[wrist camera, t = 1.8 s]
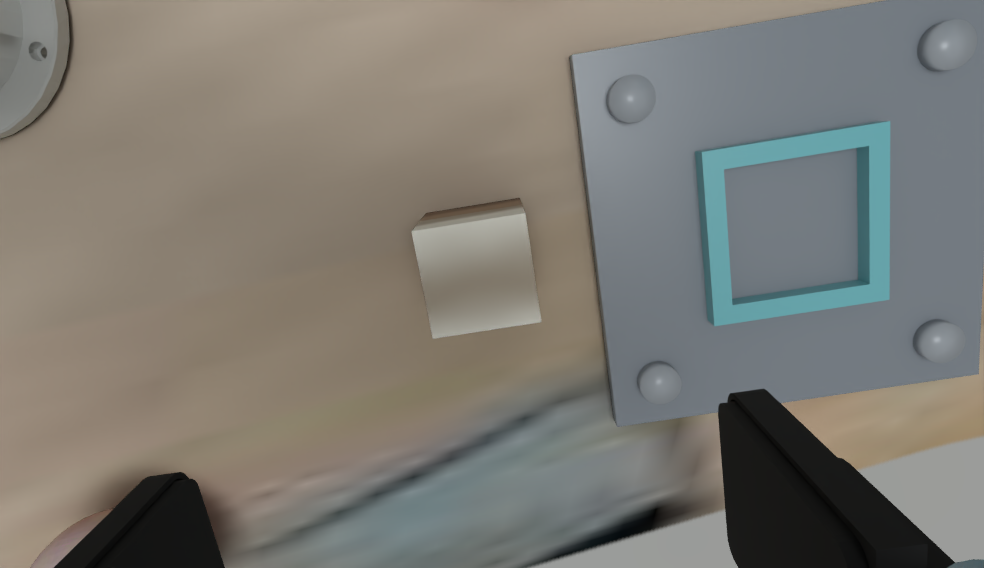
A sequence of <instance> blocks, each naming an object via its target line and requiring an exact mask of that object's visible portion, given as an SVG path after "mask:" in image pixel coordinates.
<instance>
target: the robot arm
mask: <svg viewBox="0 0 984 568" xmlns="http://www.w3.org/2000/svg"><path fill="white" fill-rule="evenodd" d="M69 43H70V38H69V18H68V11H67V7H66V3H65V0H0V139H1V138H4V137H7V136H10V135H13V134H14V133H16V132H18V131H19V130H21V129H22V128H24V127H26V126H27V125H29V124H30V123H32V122H33V121H34V120H35V119H36V118H37V117H38V116H39V115H40V114H41V113H42V112H43V111H44V110H45V109H46V108H47V106H48V104H49V103H50V101H51V100H52V98H53V96H54V95H55V93H56V91H57V90H58V88H59V85H60V83H61V80H62V77H63V74H64V71H65V68H66V65H67V57H68V50H69ZM718 417H719V430H720V443H721V457H722V470H723V483H724V496H725V510H726V523H727V536H728V542H729V547H730V550H731V553H732V555H733V558H734V560H735V562H736V564H737V566H738V568H984V560H974V559H973V560H968V561H963V562H957V563H955V562H954V561H953V560H952V559H951V558H950V557H948V556H947V555H946V554H945V553H944V552H943V551H942V550H941V549H940V548H939V547H938V546H937V545H936V544H935V543H933V541H931V540H930V539H929V538H928V537H927V536H926V535H925V534H924V533H923V532H922V531H921V530H920V529H919V528H918V527H917V526H916V525H914V524H913V523H912V522H911V521H910V520H909V519H908V518H907V517H906V516H905V515H904V514H903V513H902V512H901V511H900V510H898V509H897V508H896V507H895V506H894V505H893V504H892V503H891V502H890V501H889V500H888V499H887V498H885V496H884V495H882V494H881V493H880V492H879V491H878V490H877V489H876V488H875V487H874V486H873V485H872V484H871V483H869V481H867V480H866V479H865V478H864V477H863V476H862V475H861V474H860V473H859V472H858V471H857V470H856V469H855V468H854V467H853V466H852V465H851V464H849V463H848V462H847V461H845V460H844V459H842V458H837V457H836V456H835V455H834V454H833V453H832V452H831V451H830V450H829V449H828V448H827V447H826V446H825V445H824V444H823V443H821V442H820V441H819V440H818V439H817V438H816V437H815V436H814V435H813V434H812V433H811V432H810V431H809V430H808V429H807V428H806V427H805V426H804V425H803V424H802V423H801V422H799V421H798V420H797V419H796V418H795V417H794V416H793V415H792V414H791V413H790V412H789V411H788V410H787V409H786V408H785V407H784V406H783V405H782V404H781V403H780V402H779V401H777V400H776V399H775V398H774V397H773V396H772V395H771V394H770V393H769V392H768V391H767V390H765V389H757V390H750V391H743V392H736V393H730V394H729V396H728V400H727V402H726V403H720V404H719V407H718ZM54 568H225V567H224V564H223V561H222V558H221V555H220V551H219V548H218V545H217V542H216V539H215V536H214V533H213V530H212V526H211V523H210V520H209V517H208V514H207V511H206V508H205V505H204V502H203V498H202V495H201V492H200V489H199V486H198V484H197V482H196V481H195V480H193V479H189V478H188V477H187V476H186V475H185V474H184V473H182V472H178V473H171V474H164V475H157V476H150V477H147V478H145V479H144V480H143V481H142V482H141V483H140V484H139V485H138V486H136V487H135V488H134V489H133V490H132V491H131V492H130V493H129V494H128V495H127V496H126V497H125V498H124V499H123V500H122V501H121V502H120V503H119V504H118V505H117V506H116V507H115V508H114V509H113V510H112V511H111V512H110V513H109V514H108V515H107V516H106V517H105V518H104V519H103V520H102V521H101V522H100V523H99V524H98V525H97V526H96V527H94V528H93V529H92V530H91V531H90V532H89V533H88V534H87V535H86V536H85V537H84V538H83V539H82V540H81V541H80V542H79V543H78V544H77V545H76V546H75V547H74V548H73V549H72V550H71V551H70V552H69V553H68V554H67V555H66V556H65V557H64V558H63V559H62V560H61V561H60V562H59V563H58V564H57V565H56V566H55V567H54Z"/></svg>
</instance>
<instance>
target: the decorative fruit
mask: <svg viewBox="0 0 984 568" xmlns="http://www.w3.org/2000/svg"><path fill="white" fill-rule="evenodd" d="M112 510H113V509H110V510H105V511H102V512H99V513H96V514H93V515H91V516H89V517H86V518H84V519H82V520H80V521H78V522H77V523H75V524H73V525H72V526H70V527H69V528H67V529H66V530H65V531H63V532H62V533H61V534H60V535H58V536H57V537H56V538H55V539H54V540H53V541H52V542H51V543H50V544H49V545H48V546H47V547H46V548H45V549H44V550H43V551H42V553H41V554H40V555H39V556H38V557H37V559H36V560H35V561H34V563H33V564H32V565H31V567H30V568H54V567H55V566H56V565H57V564H58V563H59V562H60V561H61V560H62V559H63V558H64V557H65V556H66V555H67V554H68V553H69V552H70V551H71V550H72V549H73V548H74V547H75V546H76V545H77V544H78V543H79V542H80V541H81V540H82V539H83V538H84V537H85V536H86V535H87V534H88V533H89V532H90V531H91V530H92V529H93V528H94V527H96V526H97V525H98V524H99V523H100V522H101V521H102V520H103V519H104V518H105V517H106V516H107V515H108V514H109V513H110V512H111V511H112Z"/></svg>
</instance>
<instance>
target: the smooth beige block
mask: <svg viewBox="0 0 984 568" xmlns="http://www.w3.org/2000/svg"><path fill="white" fill-rule="evenodd" d="M411 232H412V237H413V242H414V247H415V252H416V257H417V262H418V267H419V272H420V277H421V282H422V287H423V292H424V297H425V302H426V307H427V312H428V317H429V322H430V327H431V333H432V338H433V339H435V338H441V337H448V336H454V335H461V334H467V333H474V332H480V331H487V330H493V329H500V328H506V327H513V326H519V325H526V324H532V323H539V322H541V315H540V309H539V302H538V295H537V288H536V282H535V275H534V268H533V261H532V255H531V248H530V241H529V235H528V228H527V221H526V214H525V211H524V208H523V206H522V203H521V201H520V198H516V199H510V200H504V201H498V202H492V203H486V204H480V205H473V206H467V207H461V208H455V209H449V210H443V211H436V212H430V213H426V214H425V216H424V217H423V218H422V219H421V220H420V222H419V223H418V224H417V225H416V227H415V228H414V229H413V230H412V231H411Z"/></svg>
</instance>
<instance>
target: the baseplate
mask: <svg viewBox="0 0 984 568" xmlns="http://www.w3.org/2000/svg"><path fill="white" fill-rule="evenodd" d="M569 59H570V67H571V75H572V83H573V91H574V99H575V108H576V116H577V124H578V132H579V140H580V148H581V157H582V165H583V173H584V181H585V189H586V197H587V206H588V214H589V222H590V230H591V238H592V246H593V254H594V263H595V271H596V279H597V287H598V295H599V303H600V312H601V320H602V328H603V336H604V344H605V352H606V360H607V369H608V377H609V385H610V393H611V401H612V409H613V418H614V421H615V423H616V425H617V427H620V426H626V425H633V424H640V423H647V422H654V421H661V420H668V419H674V418H681V417H688V416H695V415H702V414H709V413H715V412H718V407H719V404H720V403H726V402H727V400H728V396H729V394H730V393H736V392H743V391H750V390H757V389H765V390H767V391H768V392H769V393H770V394H771V395H772V396H773V397H774V398H775V399H776V400H777V401H779V402H780V403H784V402H791V401H798V400H805V399H811V398H818V397H825V396H832V395H839V394H846V393H852V392H859V391H866V390H873V389H880V388H887V387H894V386H900V385H907V384H914V383H921V382H928V381H935V380H942V379H948V378H955V377H962V376H969V375H976V374H979V353H980V331H981V309H982V287H983V265H984V0H886V1H881V2H875V3H869V4H863V5H857V6H852V7H846V8H840V9H834V10H829V11H823V12H817V13H811V14H805V15H800V16H794V17H788V18H782V19H776V20H771V21H765V22H759V23H753V24H748V25H742V26H736V27H730V28H724V29H719V30H713V31H707V32H701V33H696V34H690V35H684V36H678V37H672V38H667V39H661V40H655V41H649V42H643V43H638V44H632V45H626V46H620V47H615V48H609V49H603V50H597V51H591V52H586V53H580V54H574V55H571V56H570V57H569Z"/></svg>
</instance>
